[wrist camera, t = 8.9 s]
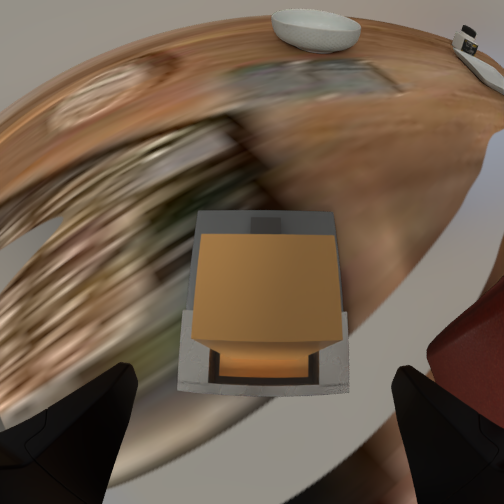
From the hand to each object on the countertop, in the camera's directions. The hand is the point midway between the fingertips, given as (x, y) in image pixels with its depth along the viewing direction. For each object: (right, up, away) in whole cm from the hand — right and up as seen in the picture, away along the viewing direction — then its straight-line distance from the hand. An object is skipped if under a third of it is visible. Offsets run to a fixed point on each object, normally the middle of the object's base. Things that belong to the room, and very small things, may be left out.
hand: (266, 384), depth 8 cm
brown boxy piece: (+1, +1, +13) cm, 13 cm away
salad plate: (+72, +57, +38) cm, 100 cm away
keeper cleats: (0, -3, +11) cm, 11 cm away
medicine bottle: (+76, +77, +47) cm, 118 cm away
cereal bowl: (+12, +45, +34) cm, 57 cm away
